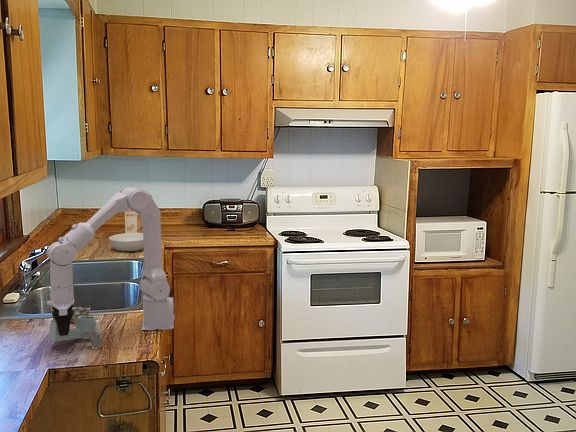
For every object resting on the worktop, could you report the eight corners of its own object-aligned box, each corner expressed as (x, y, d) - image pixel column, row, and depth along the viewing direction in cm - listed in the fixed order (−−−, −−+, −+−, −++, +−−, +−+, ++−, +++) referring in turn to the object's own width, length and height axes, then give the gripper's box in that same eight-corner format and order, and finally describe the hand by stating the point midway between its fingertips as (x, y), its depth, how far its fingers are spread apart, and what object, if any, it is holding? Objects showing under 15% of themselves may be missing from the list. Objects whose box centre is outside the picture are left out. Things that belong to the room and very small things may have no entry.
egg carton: (49, 322, 170) (48, 310, 169) (63, 315, 177) (63, 303, 177) (79, 325, 168) (79, 313, 167) (93, 317, 175) (92, 305, 175)
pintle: (101, 339, 157) (100, 318, 156) (101, 341, 155) (100, 321, 154) (95, 339, 156) (94, 319, 155) (94, 342, 155) (93, 321, 154)
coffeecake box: (138, 242, 291) (137, 206, 288) (124, 241, 292) (123, 205, 288) (145, 236, 306) (145, 202, 303) (133, 236, 306) (132, 202, 303)
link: (88, 333, 161) (90, 315, 161) (99, 336, 158) (101, 318, 158) (46, 338, 151) (48, 319, 151) (57, 342, 147) (59, 322, 148)
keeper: (84, 345, 152) (83, 332, 151) (100, 347, 151) (99, 333, 150) (81, 347, 150) (80, 334, 150) (97, 349, 150) (96, 335, 149)
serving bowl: (109, 246, 279) (108, 233, 278) (151, 244, 286) (150, 231, 285) (109, 255, 260) (108, 241, 259) (154, 253, 266) (153, 239, 265)
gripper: (46, 279, 154) (48, 325, 157) (45, 294, 141) (48, 343, 143) (73, 277, 157) (74, 322, 159) (74, 291, 144) (76, 340, 146)
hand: (63, 332), depth 152 cm, fingers closed on link, 4 cm apart
